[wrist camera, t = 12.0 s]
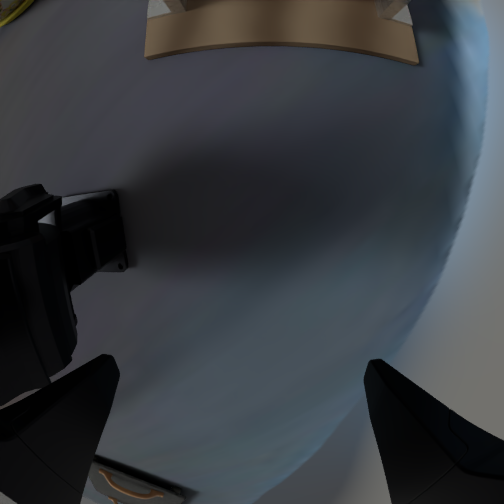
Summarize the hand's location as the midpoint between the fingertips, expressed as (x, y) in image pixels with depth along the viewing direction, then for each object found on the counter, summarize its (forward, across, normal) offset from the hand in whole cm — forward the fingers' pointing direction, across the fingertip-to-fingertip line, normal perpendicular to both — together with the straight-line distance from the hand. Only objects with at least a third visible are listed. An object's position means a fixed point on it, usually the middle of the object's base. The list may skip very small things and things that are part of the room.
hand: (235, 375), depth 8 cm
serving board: (+13, +31, +61) cm, 70 cm away
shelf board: (+12, -3, -24) cm, 27 cm away
